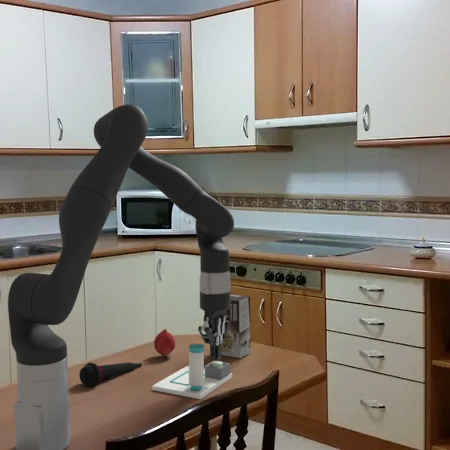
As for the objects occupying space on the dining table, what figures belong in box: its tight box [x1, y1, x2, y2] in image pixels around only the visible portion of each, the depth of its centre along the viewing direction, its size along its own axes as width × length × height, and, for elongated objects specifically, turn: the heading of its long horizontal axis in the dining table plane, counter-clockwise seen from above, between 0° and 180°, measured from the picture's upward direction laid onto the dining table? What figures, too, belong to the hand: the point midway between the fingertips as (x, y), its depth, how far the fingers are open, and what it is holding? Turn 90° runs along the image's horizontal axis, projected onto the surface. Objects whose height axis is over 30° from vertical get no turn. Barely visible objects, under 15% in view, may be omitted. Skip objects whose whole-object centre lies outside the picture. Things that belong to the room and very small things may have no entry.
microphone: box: [78, 362, 143, 387], centre depth 161 cm, size 6×6×20 cm
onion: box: [153, 327, 176, 358], centre depth 176 cm, size 6×6×8 cm
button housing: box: [204, 360, 231, 380], centre depth 158 cm, size 5×5×3 cm
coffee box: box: [221, 293, 252, 359], centre depth 178 cm, size 9×6×16 cm
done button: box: [211, 360, 223, 367], centre depth 158 cm, size 3×3×2 cm
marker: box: [188, 343, 205, 391], centre depth 148 cm, size 4×4×10 cm
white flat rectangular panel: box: [151, 365, 233, 400], centre depth 155 cm, size 16×13×1 cm
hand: (215, 358), depth 157 cm, fingers closed
